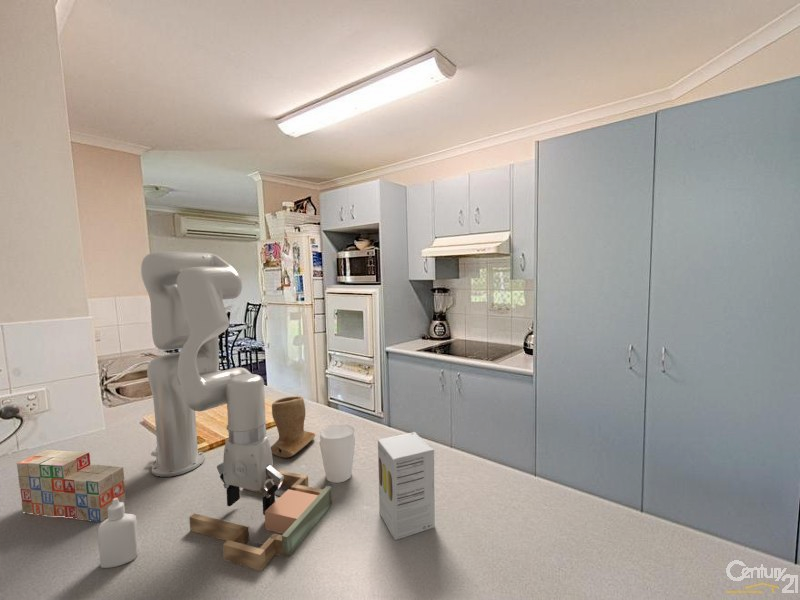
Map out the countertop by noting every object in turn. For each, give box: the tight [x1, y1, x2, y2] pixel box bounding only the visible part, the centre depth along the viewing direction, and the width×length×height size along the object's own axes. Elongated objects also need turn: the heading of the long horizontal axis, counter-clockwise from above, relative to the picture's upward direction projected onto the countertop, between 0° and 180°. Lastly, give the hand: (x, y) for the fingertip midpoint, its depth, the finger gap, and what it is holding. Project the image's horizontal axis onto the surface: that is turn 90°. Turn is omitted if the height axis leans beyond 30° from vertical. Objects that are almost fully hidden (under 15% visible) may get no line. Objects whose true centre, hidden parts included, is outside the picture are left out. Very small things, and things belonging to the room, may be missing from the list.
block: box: [264, 489, 318, 535], centre depth 77 cm, size 8×8×4 cm
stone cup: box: [270, 395, 316, 459], centre depth 110 cm, size 15×12×15 cm
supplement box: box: [377, 431, 436, 541], centre depth 76 cm, size 10×9×17 cm
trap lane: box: [188, 470, 333, 571], centre depth 79 cm, size 24×24×4 cm
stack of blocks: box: [16, 449, 127, 523], centre depth 83 cm, size 21×6×12 cm, turn 80°
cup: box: [319, 423, 356, 484], centre depth 94 cm, size 9×9×12 cm
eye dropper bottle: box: [97, 498, 140, 569], centre depth 67 cm, size 4×6×12 cm
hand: (251, 506), depth 80 cm, fingers open, 9 cm apart
